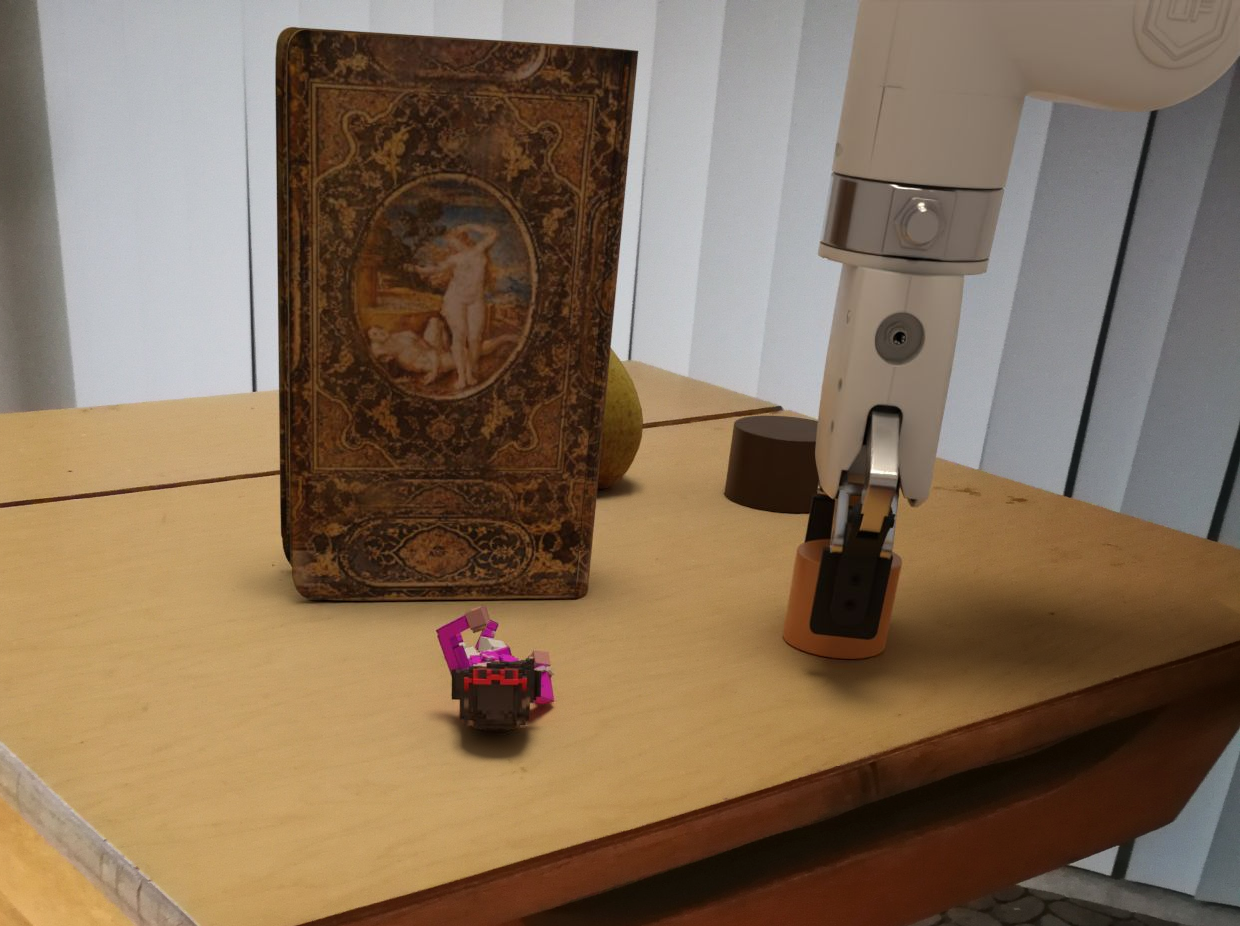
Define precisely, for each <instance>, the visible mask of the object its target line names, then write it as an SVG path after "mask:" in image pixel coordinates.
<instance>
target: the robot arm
mask: <svg viewBox="0 0 1240 926" xmlns="http://www.w3.org/2000/svg"><path fill="white" fill-rule="evenodd" d="M856 15H857V16H856V21H855V27H854V32H853V40H852V45H851V51H850V57H849V64H848V68H847V69H848V70H847V75H846V81H845V86H844V95H843V98H842V105H841V111H840V117H839V123H838V128H837V129H838V130H837V136H836V140H835V141H836V142H835V148H834V152H833V153H834V154H833V160H832V166H831V173H830V177H829V183H828V190H827V196H826V201H825V208H824V215H823V220H822V226H821V231H820V238H819V240H820V241H819V245H818V249H817V255H818V256H819V257H820V258H822V259H827V261H831V262H836V263H839V264H841V269H840V275H839V281H838V287H837V292H836V298H835V303H834V309H833V313H832V319H831V320H832V321H831V326H830V332H829V339H828V345H827V351H826V357H825V363H824V368H823V369H824V370H823V377H822V383H821V391H820V399H819V405H818V406H819V407H818V417H817V421H818V425H817V436H816V448H815V459H816V465H817V470H818V475H819V481H818V489H817V493H821V494H827V496H825V495H815V494H813V497H812V503H811V508H810V512H809V513H808V514H809V515H808V521H807V526H806V530H805V531H806V532H805V538H804V542H803V543H805V542H808V541H813V540H821V539H831V541H830V548H828V547H823V551H822V556H821V562H820V567H819V572H818V578H817V583H816V589H815V594H814V599H813V605H812V610H811V616H810V621H809V626H810V630H811V631H812V633H814V634H818V635H828V636H837V637H846V638H855V639H865V640H870V639H873V638H874V637H875V636H876V635H877V632H878V627H879V623H880V618H881V613H882V608H883V604H884V599H885V594H886V589H887V585H888V580H889V575H890V570H891V566H892V561H893V555H892V552H893V551H894V543H895V535H896V527H897V526H896V525H897V517H898V507H899V498H900V492H901V494H902V496H903V499H906V500H907V502H908V504H909V505H908V506H910V507H911V508H918V507H921V506H922V505H923V504H924V503H926V501H927V500H928V499H929V496H930V494H931V493H930V491H931V487H932V482H933V475H934V471H935V464H936V459H937V453H938V447H939V442H940V436H941V432H942V427H943V426H942V425H943V420H944V414H945V409H946V404H947V399H948V393H949V388H950V383H951V382H950V381H951V377H952V371H953V366H954V359H955V353H956V347H957V340H958V334H959V327H960V322H961V321H960V320H961V312H962V304H963V294H964V283H965V276H976V275H977V276H978V275H983V274H984V273H985V274H986V273H987V271H988V266H989V262H990V256H991V253H992V248H993V244H994V243H993V242H994V239H995V234H996V230H997V226H998V220H999V216H1000V211H1001V207H1002V204H1003V203H1002V202H1003V198H1004V193H1005V189H1004V188H1006V186H1007V180H1008V177H1009V172H1010V167H1011V163H1012V158H1013V154H1014V149H1015V144H1016V140H1017V136H1018V133H1019V132H1018V131H1019V128H1020V127H1019V126H1020V122H1021V118H1022V114H1023V113H1022V112H1023V109H1024V103H1025V100H1026V97H1029V98H1033V99H1036V100H1040V101H1044V102H1052V103H1060V104H1066V105H1067V104H1068V105H1075V106H1082V107H1085V108H1089V109H1096V110H1103V111H1111V112H1118V113H1145V112H1153V111H1158V110H1163V109H1166V108H1169V107H1173V106H1176V105H1177V104H1180V103H1183V102H1185V101H1187V100H1190V99H1191V98H1193V97H1195V96H1197V95H1199V94H1201V92H1204V90H1206V89H1207V88H1209V87H1211V86H1212V85H1213V84H1214V83H1216V82H1217V81H1218V80H1219V79H1220V78H1222V76H1223V75H1224V74H1226V73H1227V71H1228V70H1229V69H1230V68H1231V67H1232V66H1233V65H1234V63H1235V62H1236V61H1237V60H1238V58H1239V57H1240V0H859V3H858V9H857V14H856Z"/></svg>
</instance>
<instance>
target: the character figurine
mask: <svg viewBox="0 0 1240 926" xmlns="http://www.w3.org/2000/svg"><path fill="white" fill-rule="evenodd" d="M498 628H499V622H496V621H495V620H492V619H491V618H490V615H489V613H488V610H487V607H486V605H485V604H483V605H480V606H476V607H474V608H472V609H469V610H467V611H466V612H464V614H463V615H462V616H459V617H457V618H456V619H453V620H451V621H449V622H447V623H446V624H444V625H441V626H440V627H438V628H437V629H436V630H435V632H436V634H437V635H436V636H437V641H438V642H439V646H440V648H441V651H442V654H443V657H444V659H445V663H446V665H447V667H448V671H449V674H450V676H451V701H454V700H456V701H457V700H458V701H459V720H460V721H461V720H462V721H463V725H464V726H465V725H466V726H468V727H469V728H470V727H471V728H472V729H476V730H481V731H485V732H504V731H508V730H512V729H514V730H516V729H517V728H520V727H521V726H526V721H530V718H531V717H530V715H531V704H538V705H540V706H543V705H547V704H550V703H553V702H555V697H554V691H553V682H552V678H553V676H554V675H555V671H554V669H553V668H551V665H552V663H551V658H550V653H549V651H541V650H534V649H533V650H532V652H531V654H530V655H528V656H527V657H526V658H525V659H520V658H518V657H515V656H514V655H512V650H511V647H510V646H509V645H508V644H505V642H504V640H502V639H496V638H495V636H496V634H497V630H498ZM467 630H470V631H472V634H476V633H479V632H480V635H479V637H478V639H477V641H476V644H475V647H474V645H470V646H467V644H466V642H465V641H464V639H463V635H462V633H463V632H465V631H467Z"/></svg>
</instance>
